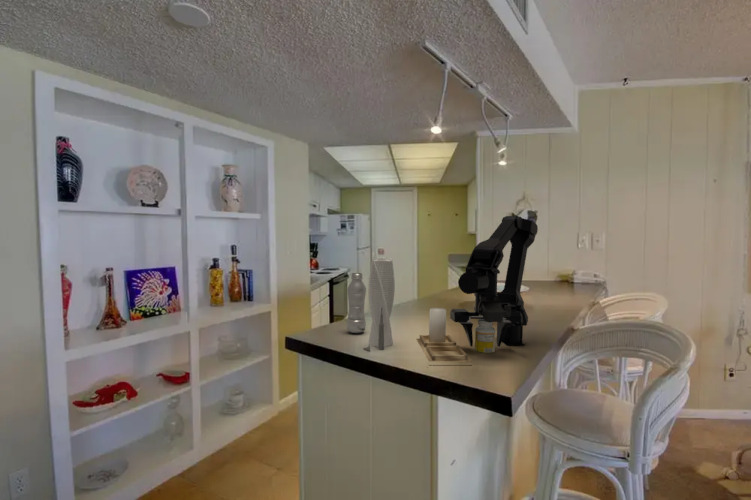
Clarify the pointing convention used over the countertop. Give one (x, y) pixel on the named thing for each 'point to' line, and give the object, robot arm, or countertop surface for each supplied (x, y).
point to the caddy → (442, 350)
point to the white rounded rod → (437, 325)
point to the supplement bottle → (485, 337)
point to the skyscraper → (381, 302)
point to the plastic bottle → (356, 304)
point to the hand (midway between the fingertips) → (484, 346)
